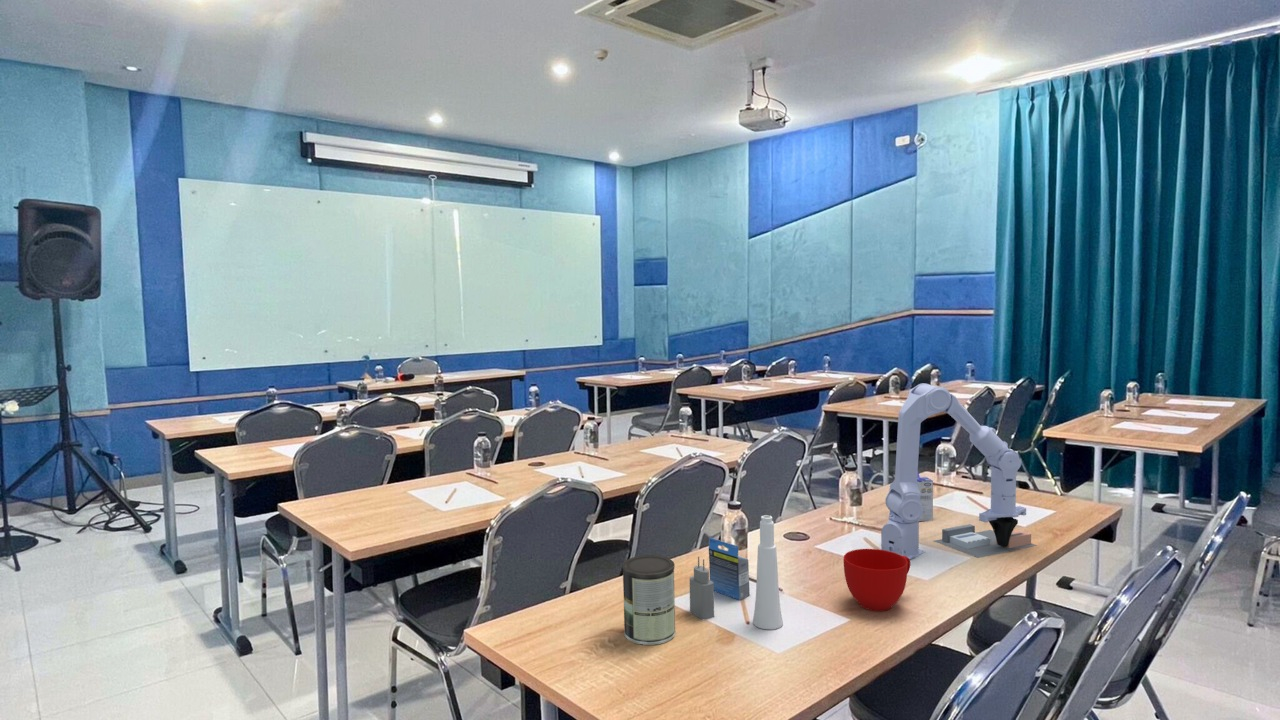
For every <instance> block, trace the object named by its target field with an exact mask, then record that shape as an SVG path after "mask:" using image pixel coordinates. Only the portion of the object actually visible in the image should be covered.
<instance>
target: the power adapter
mask: <svg viewBox="0 0 1280 720" xmlns="http://www.w3.org/2000/svg"><path fill="white" fill-rule="evenodd" d="M714 592H715V591H714V582H712V581H710V570H709V569H708V568H706V567H705V559H704V558H703V559H702V565H700V556H697V565H694V567H693V576H690V577H689V611H691V612H692V613H691V612H690V613H691V614H693V615H694V614H695V615H694V616H696V617H698V618H699V619H700V620H703V619H704V621H705V620H708V619H709V620H710V619H712V617H713V618H714V617H715V594H714Z"/></svg>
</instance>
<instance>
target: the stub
mask: <svg viewBox="0 0 1280 720" xmlns="http://www.w3.org/2000/svg"><path fill="white" fill-rule="evenodd" d="M1031 543H1032V533H1028V532H1026V531H1023V530H1020V529H1016V530H1013V531H1012V534H1011V536H1010V540H1009V543H1008V546H1007V548H1013V547H1018V546H1023V545H1028V544H1031ZM996 544H997V540H996Z"/></svg>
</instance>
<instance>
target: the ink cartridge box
mask: <svg viewBox="0 0 1280 720" xmlns="http://www.w3.org/2000/svg"><path fill="white" fill-rule="evenodd" d="M917 486H918V488H919V491H920V500H921V503H922V505H923V514H922V516H921V517H920V518H919V522H931V521H932V522H933V521H934V481H933V480H932V479H931V478H929V477H927V476H923V477H922V476H920V473H919V472H918V473H917Z"/></svg>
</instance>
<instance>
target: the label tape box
mask: <svg viewBox="0 0 1280 720" xmlns="http://www.w3.org/2000/svg"><path fill="white" fill-rule="evenodd" d="M720 547H724V548H725V549H723V548H720ZM726 549H727V550H726ZM708 560H709V562H708V563H709V564H708V565H709V567H708V568H709V569H708V570H709V580H710V581H712V582H714V592H715V591H716V592H715V593H718V592H719V593H718V594H721V593H722V594H721V595H724V594H725V596H727V597H731V598H734V599H737V600H739V601H741V600H742V599H745V598H747V597H749V596H750V593H751V592H750V571H749V570H750V568H749V566H750V565H749V559H748V558H746V557H742V556H739V545H735V544H733V543H732V544H731V543H729V542H725V541H722V540H720V539H716V538H713V537H710V536H709V540H708Z"/></svg>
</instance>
